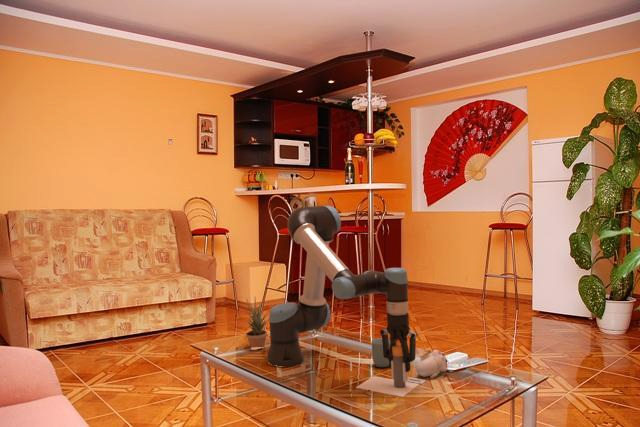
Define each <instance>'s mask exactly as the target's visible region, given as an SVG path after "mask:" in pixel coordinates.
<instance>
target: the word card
mask: <svg viewBox="0 0 640 427" xmlns="http://www.w3.org/2000/svg"><path fill="white" fill-rule="evenodd" d="M406 382H410V383H416V384H419V385H422V384H424V383H425V382H427V380H426V379H421V378H416V377H415V378H414V377H410V376H408V380H407V381H406Z"/></svg>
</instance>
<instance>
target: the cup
mask: <svg viewBox="0 0 640 427" xmlns="http://www.w3.org/2000/svg"><path fill="white" fill-rule="evenodd" d="M388 340H389V349H390V339H389V338H388ZM371 357H372V362H373V365H374V366H375V367H378V368H387V367H388V368H389V359H387V358H384V355H383V343H382V337H378V338H374V339H371Z"/></svg>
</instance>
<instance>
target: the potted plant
mask: <svg viewBox="0 0 640 427" xmlns="http://www.w3.org/2000/svg"><path fill="white" fill-rule="evenodd" d="M245 299H246V303H247V305H248V308H249V310H250V312H251V314H250V312H249V311H246V312H247V314H248V315H249V317H250V319H248V320H247V321H246V322H247V324H248V327H249V328H250V329H251V330H250V331H247V332H246V333H245V335H246V336H245V337H246V339H247V341H248V345H249V347H250V346H251V347H264V348H265V345H266V340H267V337H268V331H267V330H265V329H264V328H265V327H266V324H267V322H268V321H267V320H266V319H265V318H266V314H265V315H264V316H263V317H262V315H263V309H262V302H260V303H259V308H258V310H257V301H256V297H254V307H252V306H251V304H250V302H249V301H248V298H245ZM253 308H254V309H253ZM251 347H250V348H251Z"/></svg>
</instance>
